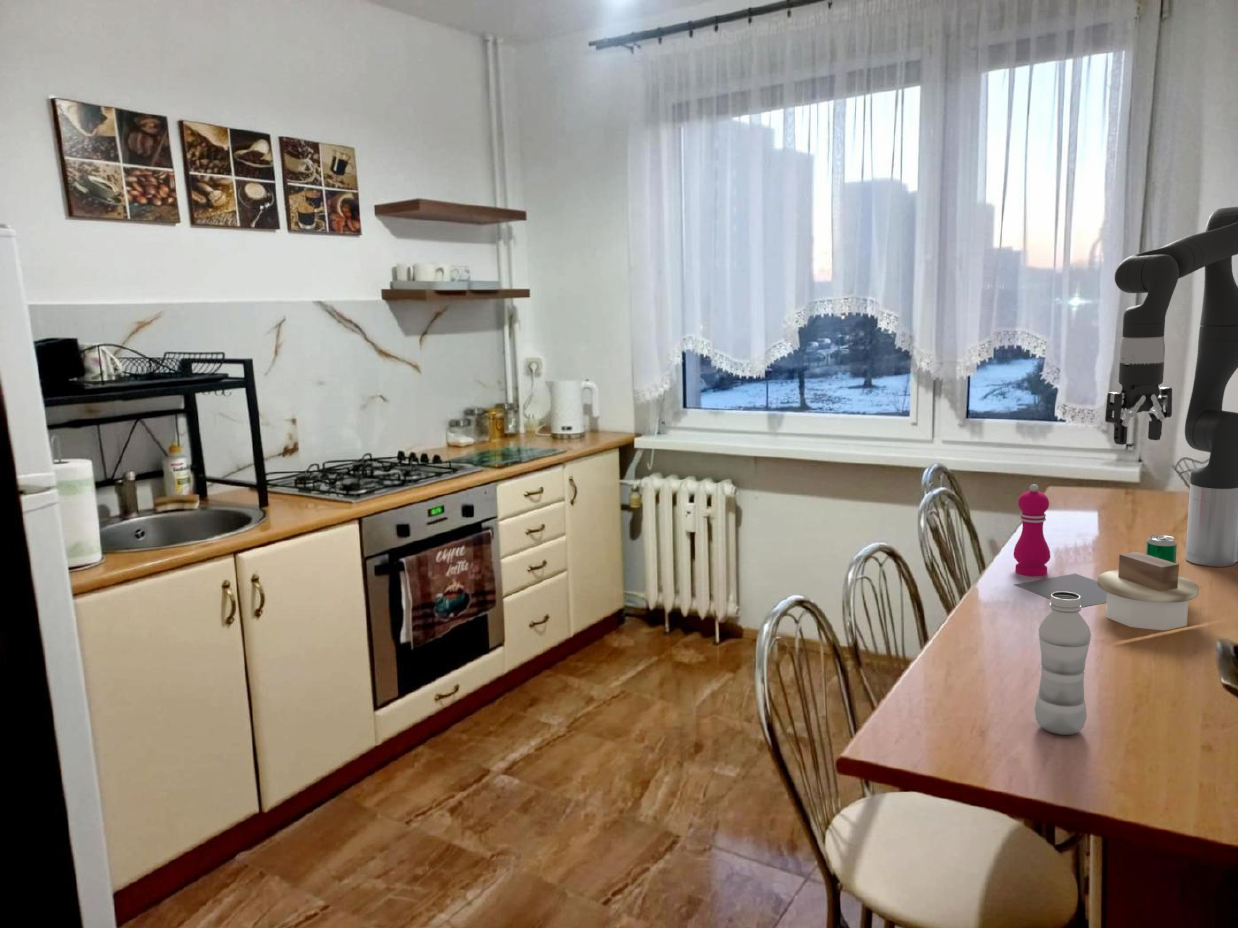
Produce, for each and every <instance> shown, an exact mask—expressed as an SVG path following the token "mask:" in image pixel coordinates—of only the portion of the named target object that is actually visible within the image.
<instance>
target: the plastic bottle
mask: <svg viewBox="0 0 1238 928" xmlns="http://www.w3.org/2000/svg"><path fill="white" fill-rule="evenodd" d="M1080 600H1081V598H1080V596H1079V595H1078V594H1075V593H1072V592H1054V593H1052V594H1051V599H1050V602H1049V608H1050V610H1051V611H1050V612H1048V614H1046V616H1045V617H1044V618H1043V619H1042V621H1041V623H1040V624H1039V627H1038V638H1039V640H1038V641H1039V646H1040V647H1039V648H1040V649H1039V650H1040V659H1041V662H1040V665H1041V667H1040V668H1041V669H1040V671H1041V672H1040V674H1041V675H1040V682H1039V686H1038V687H1039V688H1038V694H1037V697H1036V699H1035V704H1034V714H1035V715H1034V716H1035V720H1036V722H1037V724H1038V725H1039V727H1040V728H1042V729H1043V730H1045V731H1047V732H1049V733H1052V734H1055V735H1056V734H1057V735H1063V736H1066V735H1075V734H1078V733H1080V731H1082V730H1083V729H1084V728H1085V725H1086V721H1087V717H1088V714H1087V706H1086V700H1085V686H1084V683H1085V682H1084V679H1085V671H1086V669H1085V668H1086V663H1087V662H1086V660H1087V657H1088V656H1087V655H1088V653H1089V648H1090V643H1091V639H1092V638H1091V637H1092V634H1091V630H1090V627H1089V625H1088V623H1087V622H1086V620H1085V618H1083V616H1082V615H1081V614H1080V611H1081V610H1082V608H1081V605H1080Z"/></svg>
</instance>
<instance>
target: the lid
mask: <svg viewBox="0 0 1238 928" xmlns="http://www.w3.org/2000/svg"><path fill="white" fill-rule="evenodd" d="M1179 571H1180V564H1179V563H1173V562H1170V561H1166V560H1163V559H1160V558H1156V557H1153V556H1150V555H1146V553H1143V552H1139V551H1132V552H1131V551H1130V552H1126V553H1120V554H1119V557H1118V569H1113V570H1108V571H1104V572H1103V573H1100V574H1099V575H1098V576H1097V581H1098V586H1099V587H1100V588H1101V589H1102V590H1104V591H1106V592H1108V593H1110V594H1113V595H1116V596H1119V597H1123V598H1127V599H1132V600H1138V601H1146V602H1157V603H1176V602H1184V601H1188V602H1189V601H1193V600H1196V599H1197V598H1198V597H1199V595H1200V587H1199V585H1198V584H1197V583H1196V582H1195V581H1193V580H1191V579H1189V578H1186V577H1183V576H1180V575H1179Z"/></svg>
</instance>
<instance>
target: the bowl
mask: <svg viewBox="0 0 1238 928" xmlns="http://www.w3.org/2000/svg"><path fill="white" fill-rule="evenodd" d="M1188 611H1189V601H1184V602H1176V603H1157V602H1146V601H1138V600H1132V599H1127V598H1123V597H1119V596H1116V595H1113V594H1110V593H1108V592H1107V597H1106V603H1105V614H1106V618H1107V619H1109V620H1111V621H1115V622H1117V623H1120V624H1122V625H1125V626H1127V627H1130V628H1136V629H1138V628H1139V629H1147V630H1157V631H1168V630H1173V629H1178V628H1183V627H1187V626H1188V615H1189V614H1188Z"/></svg>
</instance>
